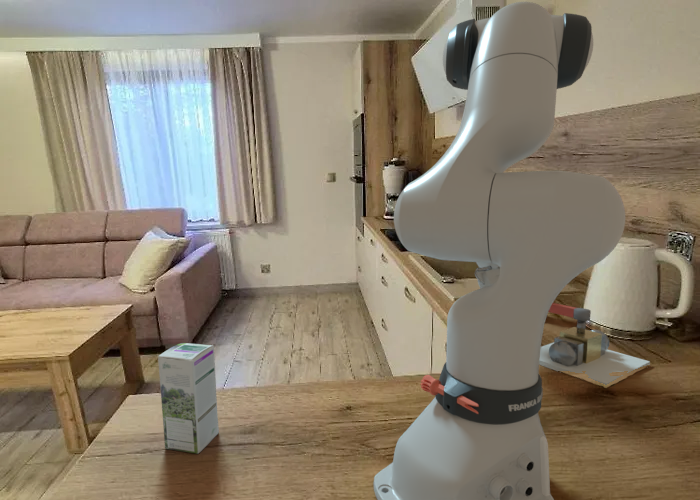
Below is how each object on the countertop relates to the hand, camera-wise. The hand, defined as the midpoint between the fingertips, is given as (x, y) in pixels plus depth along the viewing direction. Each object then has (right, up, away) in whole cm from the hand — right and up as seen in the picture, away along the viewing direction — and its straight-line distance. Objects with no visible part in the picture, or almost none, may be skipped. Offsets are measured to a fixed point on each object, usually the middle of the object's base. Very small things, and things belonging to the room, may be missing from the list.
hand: (535, 312), depth 90 cm
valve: (+9, -10, -1) cm, 14 cm away
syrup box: (-66, -15, -30) cm, 74 cm away
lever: (+7, -1, +1) cm, 7 cm away
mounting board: (+10, -11, -2) cm, 14 cm away
